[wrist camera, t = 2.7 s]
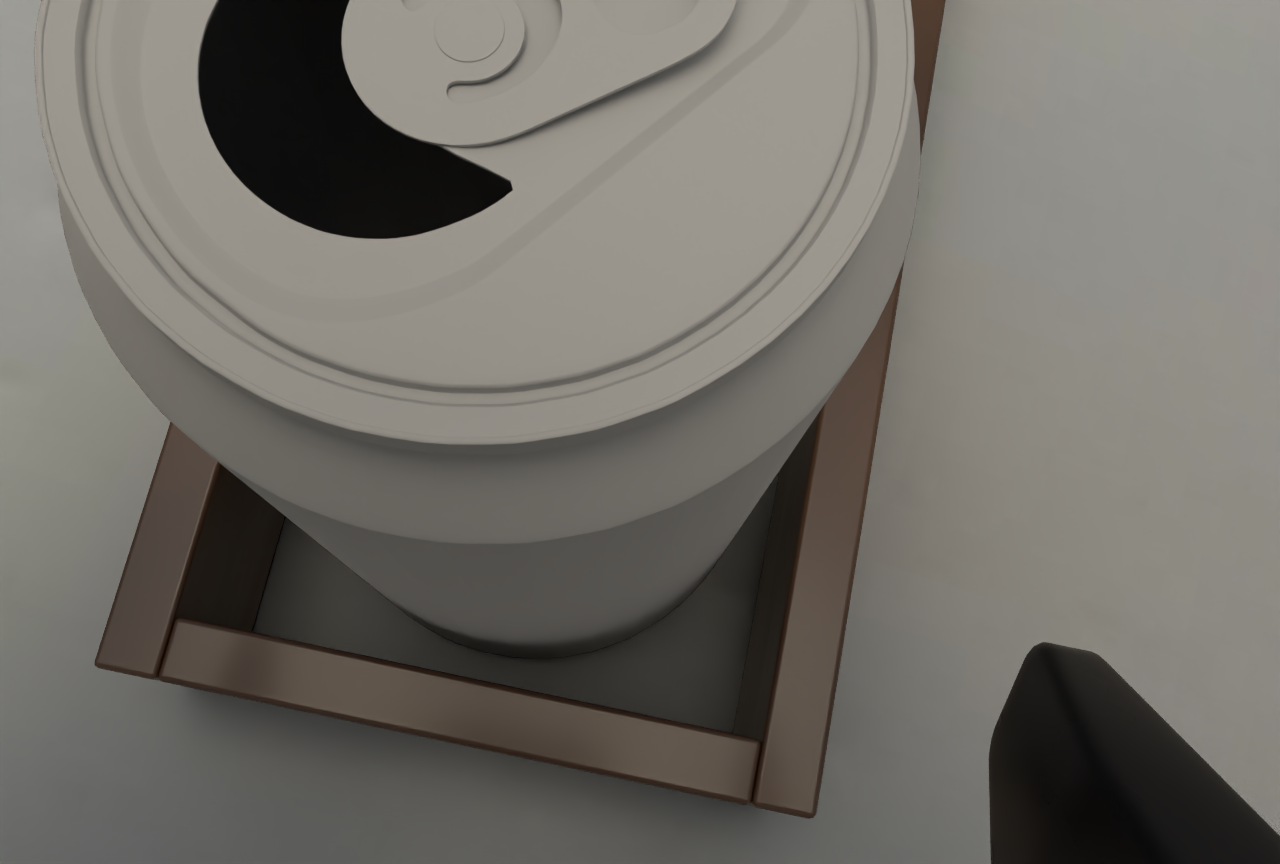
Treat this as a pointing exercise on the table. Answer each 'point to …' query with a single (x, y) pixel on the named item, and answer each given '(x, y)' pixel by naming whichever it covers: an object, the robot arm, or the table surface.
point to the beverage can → (490, 269)
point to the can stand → (512, 717)
